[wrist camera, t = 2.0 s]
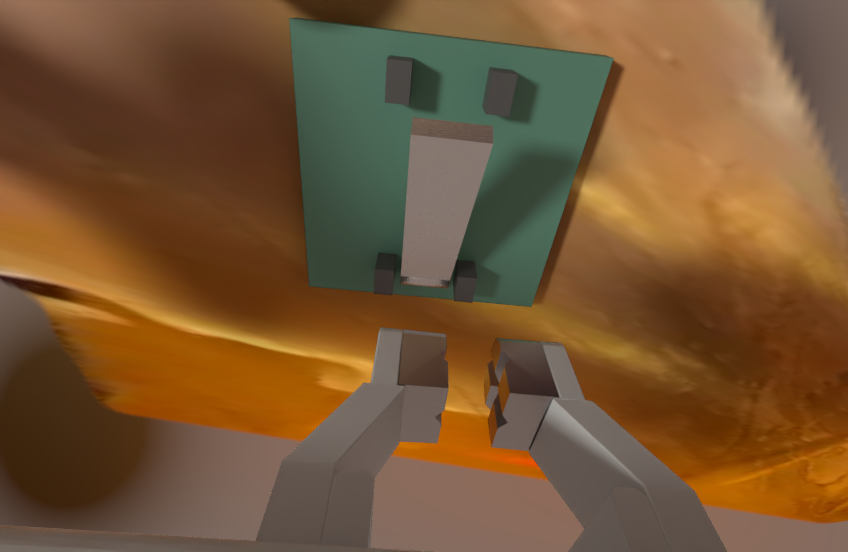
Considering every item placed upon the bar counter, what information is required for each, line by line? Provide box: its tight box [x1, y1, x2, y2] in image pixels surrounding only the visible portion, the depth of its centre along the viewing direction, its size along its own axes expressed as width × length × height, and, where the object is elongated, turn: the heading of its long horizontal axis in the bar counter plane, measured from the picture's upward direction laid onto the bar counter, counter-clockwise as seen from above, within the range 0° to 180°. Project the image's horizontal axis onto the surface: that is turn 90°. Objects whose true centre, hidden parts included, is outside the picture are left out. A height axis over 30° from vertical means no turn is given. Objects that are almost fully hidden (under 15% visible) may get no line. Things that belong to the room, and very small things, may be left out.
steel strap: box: [400, 117, 493, 289], centre depth 27 cm, size 4×16×2 cm, turn 174°
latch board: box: [289, 18, 614, 307], centre depth 30 cm, size 20×20×4 cm
